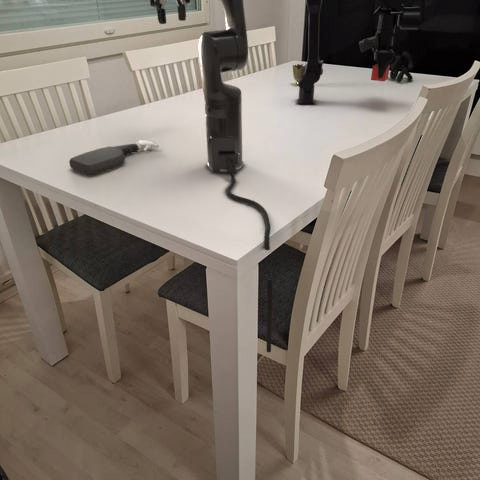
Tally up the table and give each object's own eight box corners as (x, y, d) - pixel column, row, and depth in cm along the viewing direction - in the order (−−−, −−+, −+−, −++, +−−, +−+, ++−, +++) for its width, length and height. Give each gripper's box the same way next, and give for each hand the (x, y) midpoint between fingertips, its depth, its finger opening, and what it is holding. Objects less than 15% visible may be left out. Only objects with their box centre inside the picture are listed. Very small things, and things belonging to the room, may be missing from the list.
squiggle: (400, 92, 202) (376, 71, 205) (417, 76, 202) (392, 56, 205) (405, 81, 191) (380, 59, 194) (423, 64, 191) (397, 42, 194)
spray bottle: (67, 168, 120) (139, 144, 136) (91, 178, 114) (163, 151, 130) (65, 157, 118) (137, 134, 134) (89, 167, 112) (162, 142, 128)
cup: (289, 85, 195) (289, 66, 191) (295, 82, 200) (296, 63, 196) (305, 87, 192) (306, 67, 188) (311, 83, 197) (312, 64, 193)
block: (374, 77, 165) (376, 63, 162) (387, 78, 163) (390, 64, 160) (370, 80, 161) (372, 66, 159) (384, 81, 159) (386, 67, 157)
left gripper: (173, -45, 126) (178, 19, 135) (137, -45, 116) (145, 24, 125) (194, -45, 123) (198, 20, 132) (159, -45, 113) (166, 25, 122)
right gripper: (361, 25, 163) (356, 70, 171) (362, 32, 147) (356, 81, 155) (393, 25, 160) (386, 71, 169) (397, 32, 145) (389, 82, 153)
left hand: (172, 22), depth 128 cm, fingers open, 8 cm apart
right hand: (379, 76), depth 162 cm, fingers closed on block, 5 cm apart
